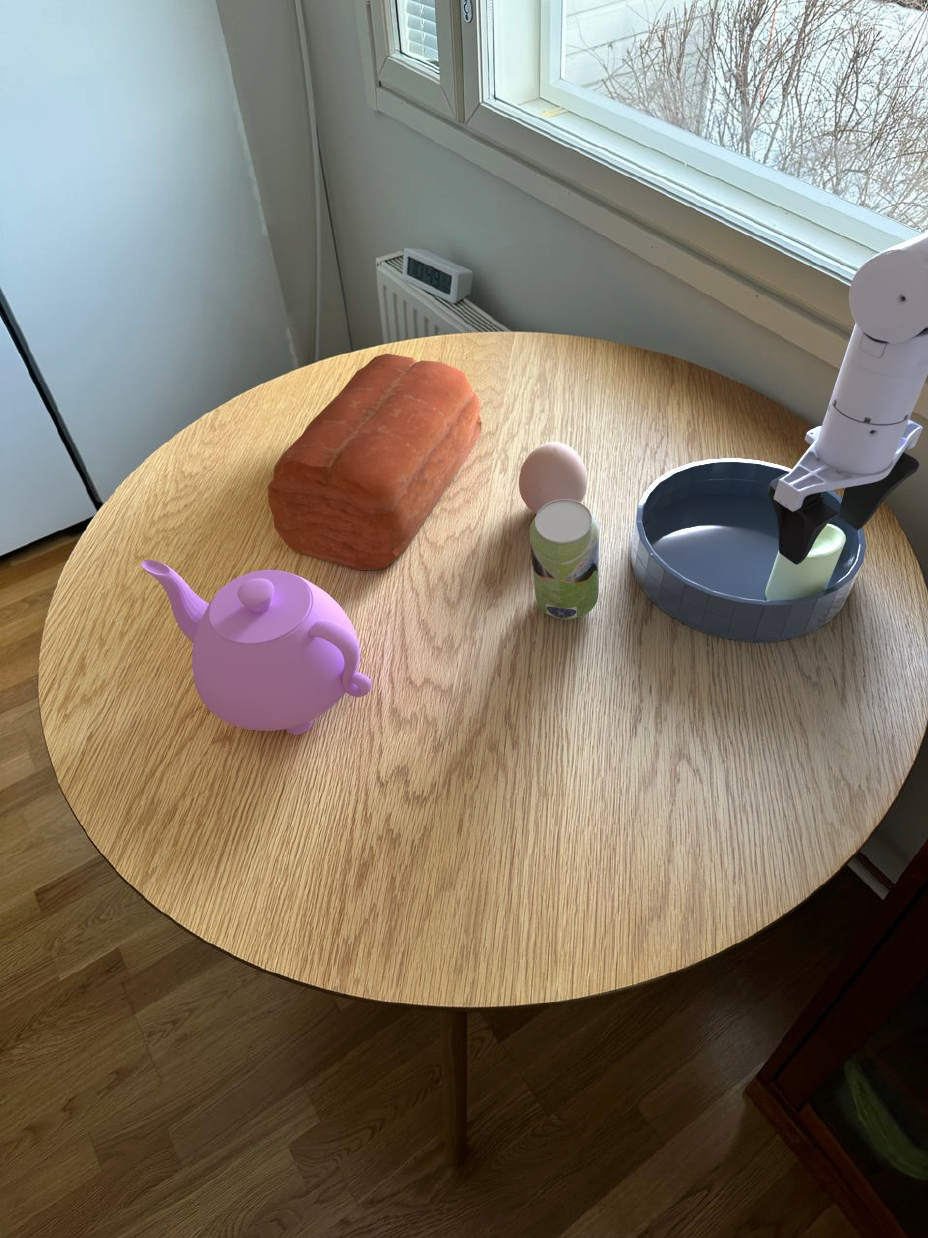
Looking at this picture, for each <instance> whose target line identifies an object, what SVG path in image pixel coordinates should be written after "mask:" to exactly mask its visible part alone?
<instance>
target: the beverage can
mask: <svg viewBox="0 0 928 1238" xmlns="http://www.w3.org/2000/svg"><path fill="white" fill-rule="evenodd" d="M528 533H529V544H530V552H531V555H530V556H531V564H532V575H533V584H534V592H535V593H534V594H535V601H536V604H537V606H538V607H539V609H540V610H541V611H542V612H543V613H544V614H545V615H548V616H549V617H551V618H553V619H556V620H563V621H570V620H575V619H579V618H581V617H584V616H586V615H587V614H589V613H590V612H591V611H592V610H593V609H594V608H595V606H596V605H597V603H598V600H599V593H600V589H599V588H600V587H599V586H600V583H599V582H600V581H599V580H600V577H599V576H600V527H599V524H598V521H597V519H596V518H595V516H594V515H593V514H592V512H591V511H590V509H589V508H588V507H587V505H585V504H583V503H582V502H581V503H580V502H578V501H574V500H569V499H561V500H555V501H552V502H550V503H548V504H546V505H544V506H543V507H542V508H541V509H540V510H539V511H538V513H537V514H536V516H535V517H534V518H533V520H532V521H531V524H530V527H529V532H528Z"/></svg>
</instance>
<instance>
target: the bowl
mask: <svg viewBox="0 0 928 1238" xmlns="http://www.w3.org/2000/svg"><path fill="white" fill-rule="evenodd" d="M792 470H793V468H792V469H791V468H789V467H787V466H783V465H780V464H775V463H771V462H766V461H762V460H755V459H745V458H733V457H731V458H712V459H706V460H700V461H694V462H690V463H687V464H685V465H682V466H679V467H676V468H673V469H671V470H669V471H668V472H666V473H665V474H663V475H661V476H660V477H658V478H657V479H656V480H654V481H653V482H652V484H651V485H649V487H647V489H646V490H645V491H644V492H643V493H642V496H641V498H640V500H639V503H638V504H637V507H636V513H635V520H634V527H633V533H632V539H631V549H630V563H631V568H632V571H633V574H634V577H635V579H636V582H637V583H638V585H639V586H640V588H641V590H642V591H643V593H644V594H645V595H646V596H647V598H648V599H650V601H651V602H653V604H655V605H656V606H657V607H658V608H659V609H660V610H661V611H662V612H664V613H665V614H667V615H668V616H669V617H671V618H673V619H675V620H676V621H678V622H679V623H681V624H683V625H685V626H687V627H689V628H692V629H694V630H696V631H699V632H702V633H704V634H707V635H710V636H713V637H717V638H721V639H724V640H731V641H736V642H746V643H772V642H773V643H774V642H782V641H787V640H791V639H792V640H793V639H796V638H799V637H802V636H806V635H808V634H810V633H813V632H815V631H816V630H819V629H820V628H822V627H823V626H825V625H826V624H828V623H830V622H831V621H832V620H833V618H835V617H836V616H837V614H839V612H840V611H841V610H842V609H843V606H844V604H845V603H846V601H847V599H848V598H849V596H850V594H851V592H852V589H853V587H854V584H855V582H856V580H857V578H858V575H859V573H860V571H861V568H862V566H863V564H864V561H865V556H866V550H867V542H866V535H865V530H864V526H863V527H862V528H861V529H859V530H856V529H855V528H853V527H852V526H850V525H849V524H847V523H846V522H844V521H843V520H841V519H839V515H837V516H836V517H835V518H833V519H832V520H831V521H830V522H829V523H828V524H831V525H834V526H836V527H838V528H839V529H841V530H842V531H843V532H844V534H845V536H846V541H845V544H844V546H843V549H842V551H841V554H840V556H839V559H838V561H837V564H836V566H835V568H834V571H833V573H832V576H831V578H830V581H829V583H828V586H827V588H826V589H825V590H823V591H821V592H818V593H816V594H814V595H810V596H805V597H801V598H796V599H792V600H770V601H767V599H766V596H765V591H766V588H767V585H768V581H769V578H770V575H771V572H772V569H773V566H774V563H775V560H776V557H777V554H778V551H779V531H778V521H777V516H776V513H775V509H774V507H773V504H772V502H771V499H770V497H769V495H768V490H769V487H770V483H771V482H772V481H773V480H775V479H777V478H778V477H780V476H782V475H784V474H786V473H787V474H789V473H790V472H791V471H792ZM821 497H824V500H823V502H824V503H825V504H827V505H828V506H830V507H831V508H833V509H834V510H836V511H837V512H840V505H841V501H842V498H843V497H841V496H840V495H839V494H837V493H836V492H835V491H834V490H830V491H824V492H822V494H821Z"/></svg>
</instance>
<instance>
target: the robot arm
mask: <svg viewBox="0 0 928 1238" xmlns="http://www.w3.org/2000/svg"><path fill="white" fill-rule="evenodd" d="M848 303H849V309H850V313H851V316H852V318H853V320H854V322H855V323H854V325H853V326H854V327H853V330H852V333H851V335H850V339H849V342H848V345H847V348H846V351H845V354H844V357H843V360H842V363H841V366H840V369H839V372H838V375H837V379H836V382H835V384H834V387H833V391H832V393H831V397H830V399H829V403H828V406H827V409H826V413H825V415H824V418H823V421H822V425H820V426H816V427H815V428H812V429H810V430H809V431H807V432H806V435H805V437H804V441H805V442H806V443H807V444H809V445H810V447H809V448H808V449H807V450H806V452H805V453H804V454H803V455H802V457H801V458H800V459H799V460H798V462H797V463H796V465H794V467H793V468H792V471H791V472H790V473H789V474H787V473H786V474H784V475H782V476H780V477H778V478H777V479H775V480H773V481H772V482H771V483H770V487H769V490H768V495H769V497H770V499H771V502H772V504H773V507H774V509H775V513H776V516H777V521H778V531H779V553H780V554H781V555H783V556H784V557H785V558H787V559H788V560H790V561H791V562H792V563H794V564H795V565H798V564H799V563H801V562H802V561H803V560H804V559H805V558H806V557H807V555H808V554H809V552H810V550H811V548H812V546H813V544H814V542H815V540H816V539H817V537H818V535H819V534H820V532H821V531H822V530H823V529H824V527H825V526H826V525H827V524H828V523H829V522H830V521H831V520H832V519H833V518H835V517H836V516H837V515H839V519H841V520H843V521H844V522H846V523H847V524H849V525H850V526H852V527H853V528H855V529H856V530H859V529H861V528H862V527H863V528H864V527H865V526H866V524H868V522H869V521H870V520H871V518H872V517H873V516H874V514H875V513H876V512H877V510H878V509H879V508H880V507H881V505H882V504H883V503H884V501H886V499H888V497H889V496H890V495H891V493H893V491H894V490H895V489H897V488H898V487H899V486H900V485H901V484H902V483H903V482H904V481H906V480H907V479H908V478H910V477H911V476H913V475H914V474H915V473H917V471H918V470H919V467H920V462H919V461H918V459H917V458H915V457H913V456H912V455H910V454H908V453H906V451H908V450H910V449H913V448H915V447H916V445H917V442H918V440H919V439H920V436H921V433H922V431H923V428H924V426H922V425H921V424H918V423H916V422H915V421H913V420H911V417H912V414H913V412H914V409H915V407H916V404H917V402H918V400H919V397H920V394H921V392H922V390H923V387H924V386H925V382H926V381H927V378H928V232H925V233H922V234H921V235H919V236H916V237H914V238H911V239H908V240H906V241H904V242H902V243H900V244H897V245H894V246H892V247H890V248H888V249H886V250H883V251H881V252H879V253H877V254H875V255H874V256H873V257H871V258H869V259H868V260H866V261H865V262H864V263H863V264H862V265H861V266H859V268H858V269H857V271H856V272H855V274H854V275H853V277H852V280H851V282H850V286H849V292H848ZM840 489H844V491H843V494H842V497H841V498H842V501H841V505H840V512H837V511H836V510H834V509H833V508H831V507H830V506H828V505H827V504H825V503H824V502H823V500H824V497H821V494H822V492H824V491H830V490H832V491H834V490H835V491H836V490H840Z"/></svg>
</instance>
